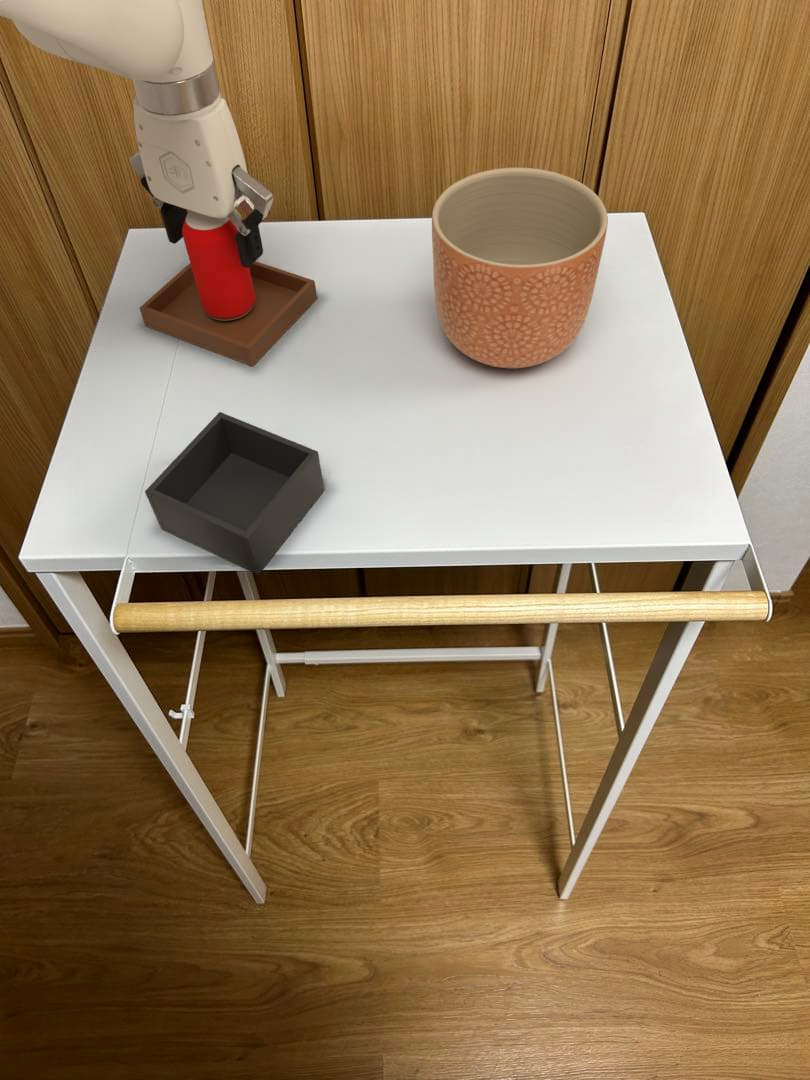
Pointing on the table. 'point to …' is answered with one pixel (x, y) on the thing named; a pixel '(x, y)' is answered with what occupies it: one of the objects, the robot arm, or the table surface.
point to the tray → (240, 338)
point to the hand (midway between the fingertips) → (216, 248)
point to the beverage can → (218, 266)
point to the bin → (237, 491)
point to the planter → (515, 263)
